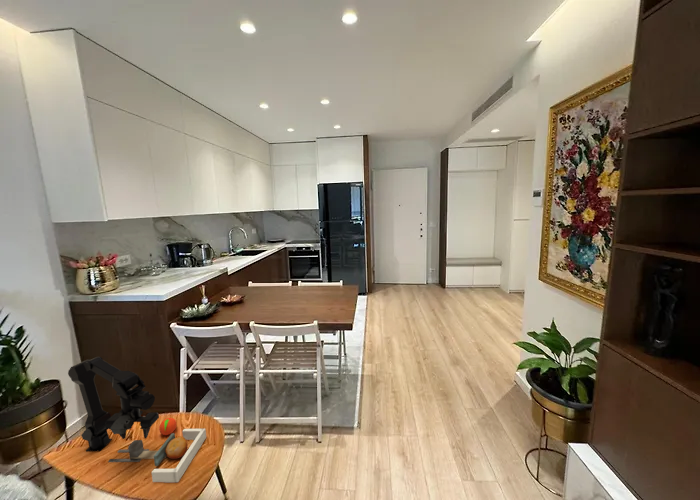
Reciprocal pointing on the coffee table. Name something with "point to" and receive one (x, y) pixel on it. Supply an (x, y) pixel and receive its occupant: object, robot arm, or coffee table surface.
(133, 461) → the track
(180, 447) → the fruit
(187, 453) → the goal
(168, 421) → the clementine
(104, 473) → the coffee table surface
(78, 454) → the coffee table surface
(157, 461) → the kicker
